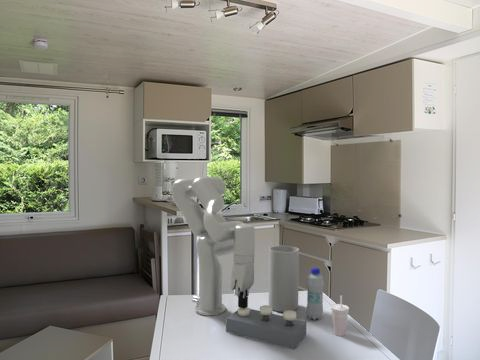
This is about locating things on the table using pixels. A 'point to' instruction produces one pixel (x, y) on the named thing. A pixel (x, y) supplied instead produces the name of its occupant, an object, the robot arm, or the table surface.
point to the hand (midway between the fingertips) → (242, 307)
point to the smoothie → (339, 317)
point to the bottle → (315, 294)
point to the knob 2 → (289, 317)
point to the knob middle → (266, 312)
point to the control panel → (267, 328)
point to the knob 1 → (243, 311)
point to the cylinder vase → (283, 278)
